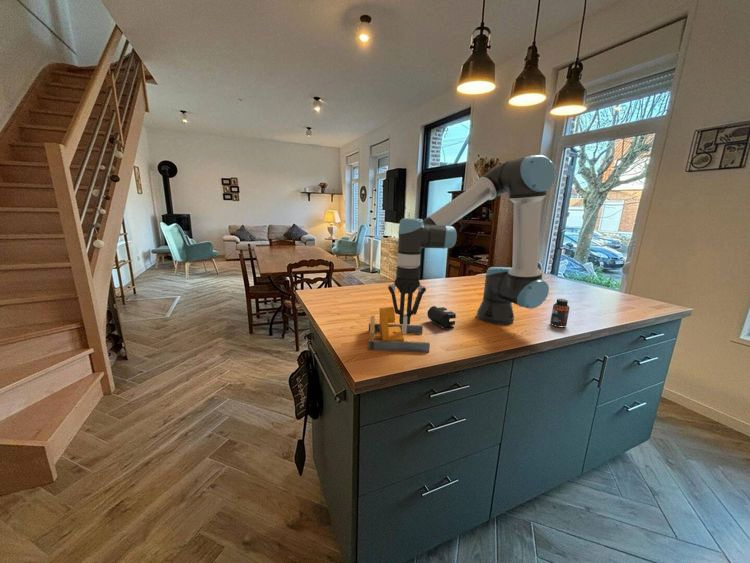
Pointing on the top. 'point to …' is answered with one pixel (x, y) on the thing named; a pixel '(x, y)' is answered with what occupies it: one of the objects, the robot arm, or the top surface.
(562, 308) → the supplement bottle
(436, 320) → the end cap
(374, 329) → the rail
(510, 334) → the top surface
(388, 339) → the bracket
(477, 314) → the robot arm
